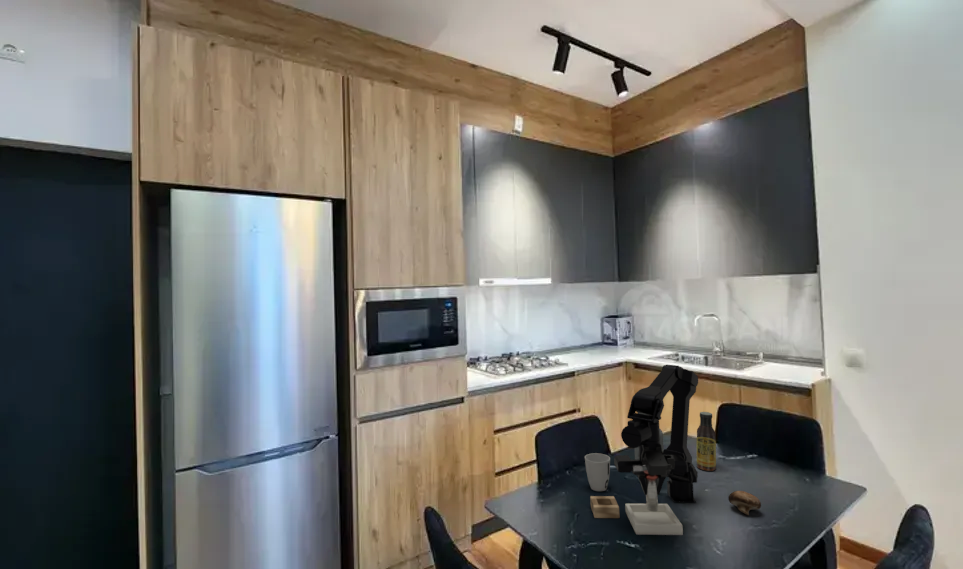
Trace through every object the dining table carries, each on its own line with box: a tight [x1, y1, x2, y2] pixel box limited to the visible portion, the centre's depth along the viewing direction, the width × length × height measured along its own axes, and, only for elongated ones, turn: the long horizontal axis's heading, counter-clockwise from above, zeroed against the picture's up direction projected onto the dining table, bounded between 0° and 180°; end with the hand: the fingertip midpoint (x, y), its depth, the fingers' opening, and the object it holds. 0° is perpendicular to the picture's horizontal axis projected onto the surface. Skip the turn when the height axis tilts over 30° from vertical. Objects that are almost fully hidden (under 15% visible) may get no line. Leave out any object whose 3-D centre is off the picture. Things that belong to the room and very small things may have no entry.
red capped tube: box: [644, 470, 659, 512], centre depth 123 cm, size 4×4×10 cm
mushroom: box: [728, 490, 762, 516], centre depth 127 cm, size 8×8×6 cm
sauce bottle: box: [696, 411, 717, 472], centre depth 158 cm, size 7×6×20 cm
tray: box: [624, 503, 684, 536], centre depth 123 cm, size 12×12×2 cm
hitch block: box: [589, 495, 620, 519], centre depth 130 cm, size 7×7×3 cm
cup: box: [584, 452, 611, 492], centre depth 146 cm, size 8×8×10 cm
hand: (651, 494), depth 123 cm, fingers closed on red capped tube, 3 cm apart
